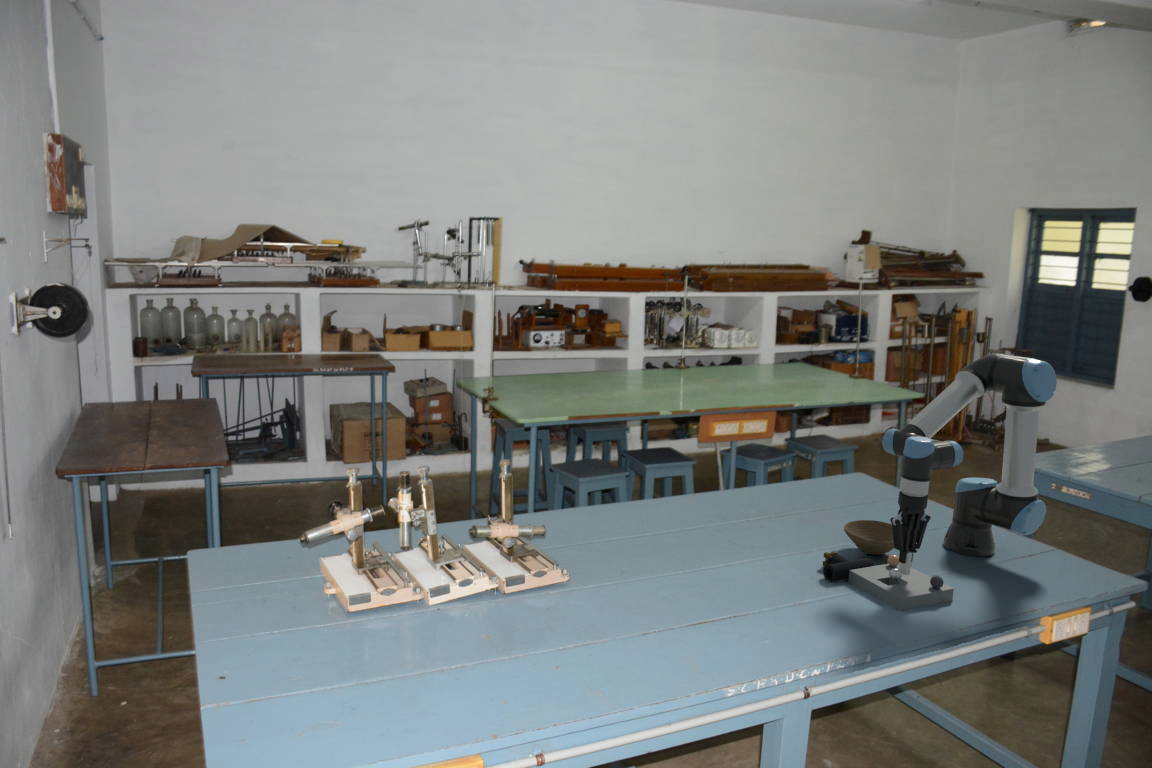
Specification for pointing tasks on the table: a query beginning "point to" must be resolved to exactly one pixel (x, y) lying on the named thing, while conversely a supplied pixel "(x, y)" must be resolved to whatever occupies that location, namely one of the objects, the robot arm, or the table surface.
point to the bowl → (871, 536)
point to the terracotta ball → (893, 560)
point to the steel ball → (895, 574)
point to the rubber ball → (936, 582)
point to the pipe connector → (841, 566)
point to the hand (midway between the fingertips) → (904, 573)
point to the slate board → (899, 587)
